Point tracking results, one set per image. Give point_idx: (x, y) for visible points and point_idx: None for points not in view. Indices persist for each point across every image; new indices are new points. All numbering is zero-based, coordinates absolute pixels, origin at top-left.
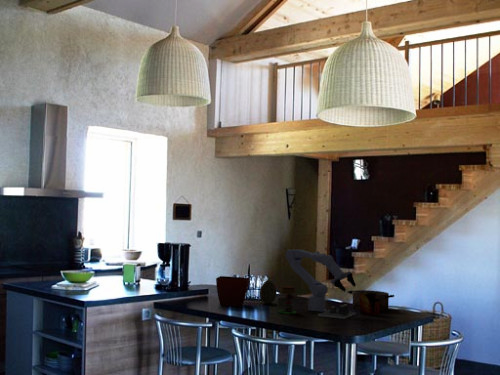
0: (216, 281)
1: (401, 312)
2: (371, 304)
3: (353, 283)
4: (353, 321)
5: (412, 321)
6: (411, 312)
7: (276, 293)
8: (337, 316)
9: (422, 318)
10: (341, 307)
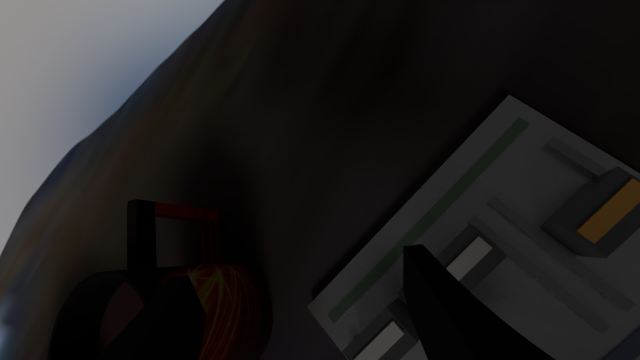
0: None
1: None
2: (183, 266)
3: (176, 318)
4: (486, 8)
5: (166, 63)
6: (23, 316)
7: None
8: (569, 133)
9: (87, 146)
10: (480, 235)
